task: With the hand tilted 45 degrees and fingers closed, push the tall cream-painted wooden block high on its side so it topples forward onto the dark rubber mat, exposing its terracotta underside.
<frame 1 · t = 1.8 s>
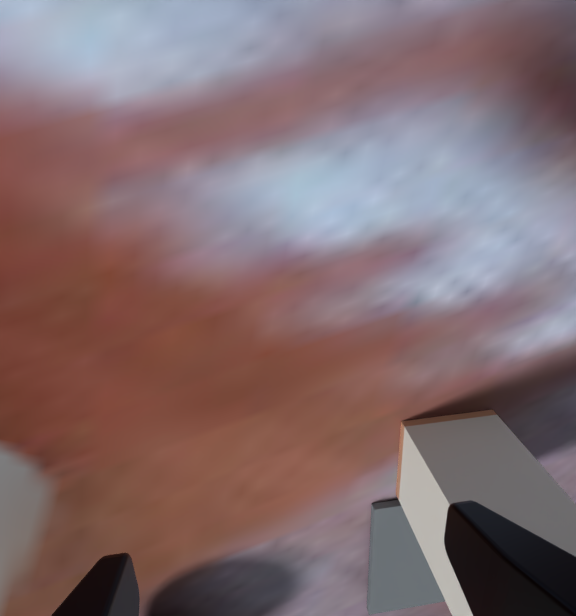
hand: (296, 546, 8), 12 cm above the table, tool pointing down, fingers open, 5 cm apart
block: (442, 453, 24), on the table
mat: (431, 548, 27), on the table
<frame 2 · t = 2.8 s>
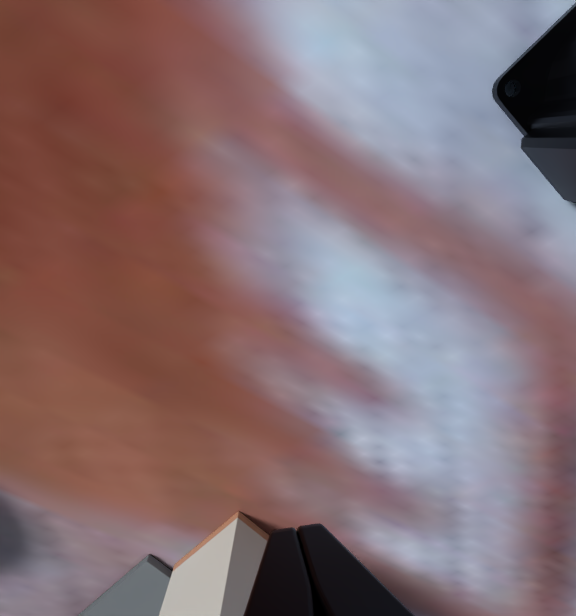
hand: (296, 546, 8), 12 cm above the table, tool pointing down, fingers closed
block: (241, 566, 23), on the table
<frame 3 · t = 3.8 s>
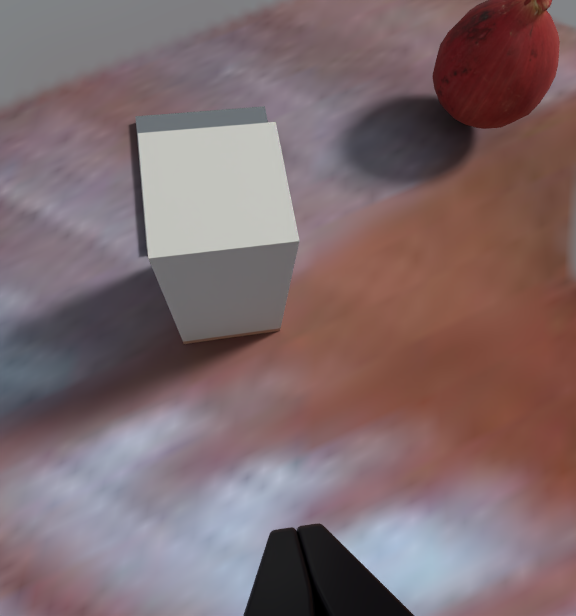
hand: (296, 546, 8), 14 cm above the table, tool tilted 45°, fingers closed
block: (226, 293, 24), on the table
onion: (462, 120, 29), on the table
mat: (210, 177, 26), on the table
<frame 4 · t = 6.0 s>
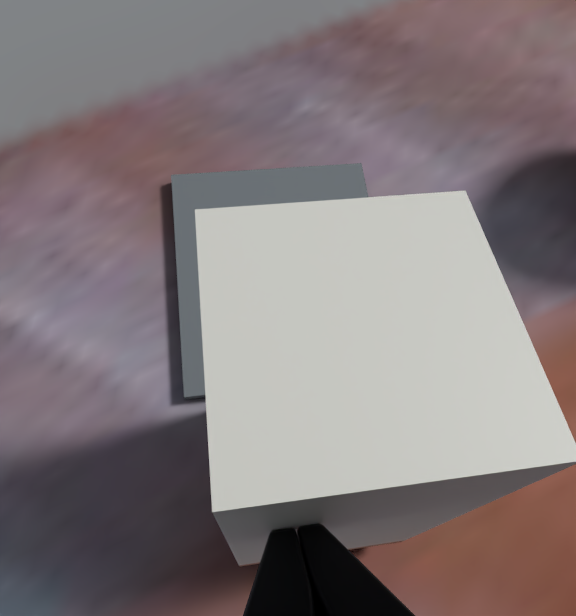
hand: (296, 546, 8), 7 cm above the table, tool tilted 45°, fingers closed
block: (308, 470, 15), on the table, tilted 11°
mat: (280, 273, 17), on the table
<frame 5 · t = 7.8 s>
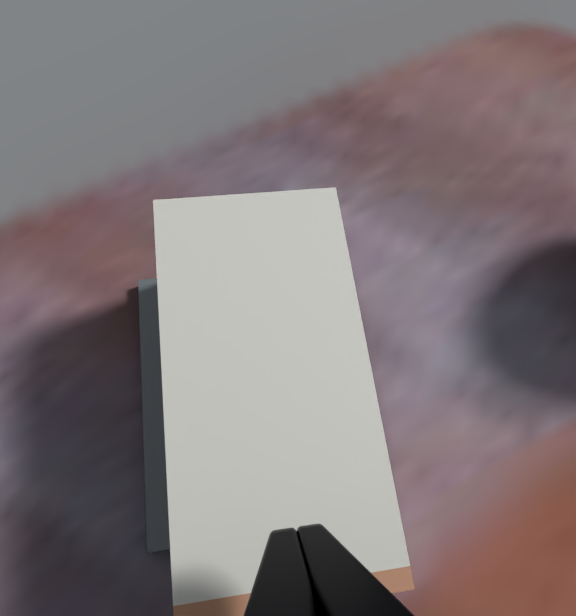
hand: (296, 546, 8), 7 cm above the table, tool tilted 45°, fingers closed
block: (288, 588, 11), point 3 cm above the table, tilted 90°, touching mat
mat: (259, 392, 15), on the table
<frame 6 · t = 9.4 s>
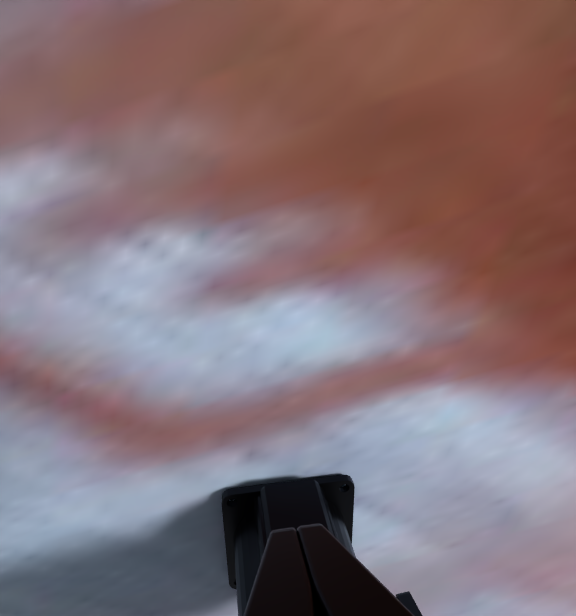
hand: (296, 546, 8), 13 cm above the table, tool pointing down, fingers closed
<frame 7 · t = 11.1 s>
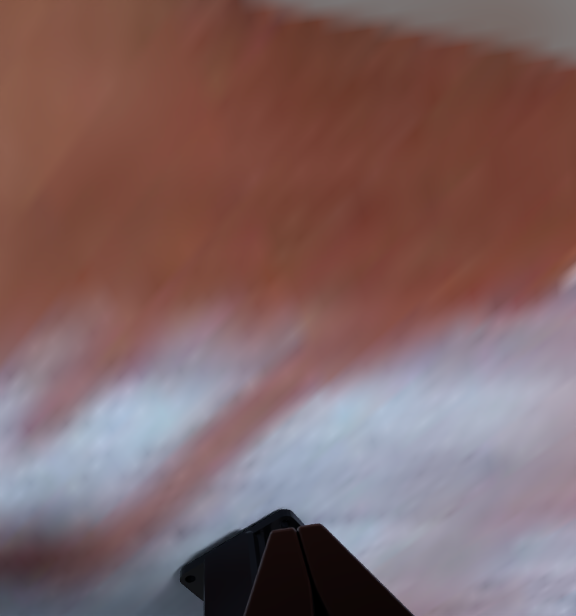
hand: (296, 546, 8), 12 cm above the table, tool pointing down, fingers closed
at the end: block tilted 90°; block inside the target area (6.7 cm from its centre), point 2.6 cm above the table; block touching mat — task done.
